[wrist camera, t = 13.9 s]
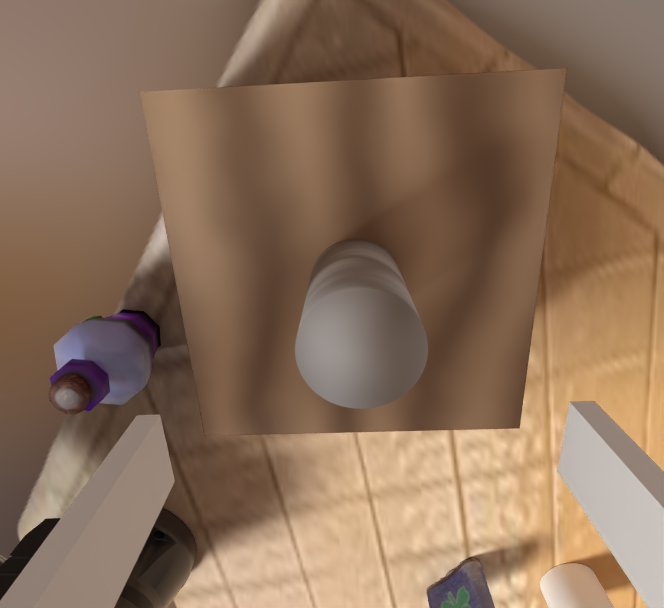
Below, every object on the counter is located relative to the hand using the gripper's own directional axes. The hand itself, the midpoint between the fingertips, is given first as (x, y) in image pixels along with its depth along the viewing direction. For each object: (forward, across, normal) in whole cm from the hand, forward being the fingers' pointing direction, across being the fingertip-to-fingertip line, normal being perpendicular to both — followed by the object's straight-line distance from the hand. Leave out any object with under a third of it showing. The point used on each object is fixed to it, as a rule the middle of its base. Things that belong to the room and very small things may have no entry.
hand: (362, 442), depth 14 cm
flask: (+29, -12, +46) cm, 56 cm away
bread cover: (+29, 0, 0) cm, 29 cm away
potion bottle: (+29, +22, +9) cm, 38 cm away
